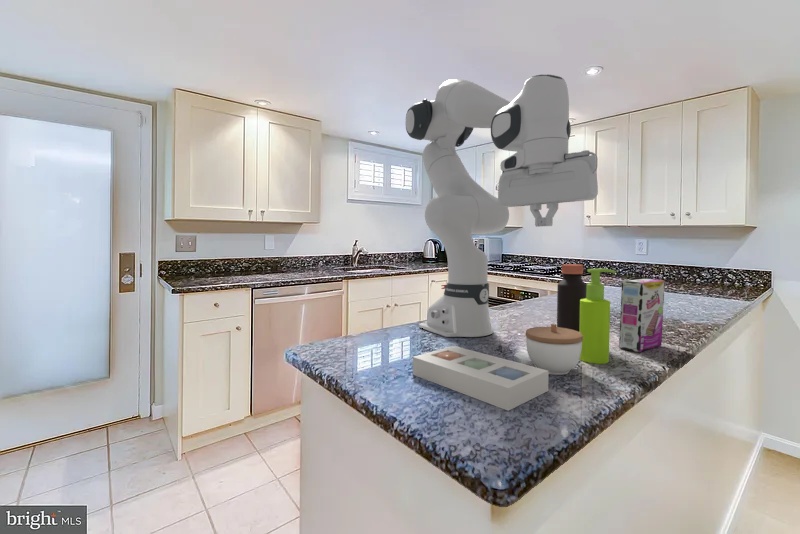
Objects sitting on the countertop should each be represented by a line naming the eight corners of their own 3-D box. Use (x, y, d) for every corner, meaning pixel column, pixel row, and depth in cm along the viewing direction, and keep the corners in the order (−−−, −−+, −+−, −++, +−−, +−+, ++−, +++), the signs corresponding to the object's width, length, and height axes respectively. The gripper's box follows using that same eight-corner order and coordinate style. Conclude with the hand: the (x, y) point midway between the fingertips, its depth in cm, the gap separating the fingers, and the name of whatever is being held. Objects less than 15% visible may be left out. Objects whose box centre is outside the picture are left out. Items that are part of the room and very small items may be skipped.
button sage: (459, 378, 73) (459, 362, 72) (474, 373, 75) (474, 358, 75) (478, 385, 69) (478, 368, 69) (493, 379, 72) (493, 363, 72)
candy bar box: (640, 353, 89) (642, 282, 88) (618, 348, 93) (620, 280, 92) (663, 346, 95) (665, 279, 94) (641, 341, 99) (643, 277, 98)
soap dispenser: (618, 364, 81) (620, 269, 80) (582, 363, 83) (584, 269, 81) (609, 356, 87) (611, 267, 86) (575, 355, 89) (577, 267, 87)
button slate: (490, 389, 67) (490, 372, 67) (505, 382, 70) (505, 366, 70) (512, 396, 64) (512, 378, 64) (527, 389, 67) (527, 372, 67)
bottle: (587, 342, 100) (588, 264, 98) (584, 348, 94) (585, 265, 92) (558, 338, 103) (560, 263, 102) (554, 345, 97) (555, 265, 96)
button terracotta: (432, 369, 78) (432, 354, 78) (447, 364, 81) (447, 350, 81) (449, 375, 75) (449, 359, 74) (464, 370, 77) (464, 355, 77)
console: (412, 374, 77) (412, 356, 77) (453, 361, 85) (453, 345, 84) (508, 410, 60) (508, 388, 60) (548, 390, 68) (548, 370, 68)
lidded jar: (538, 380, 73) (539, 331, 72) (517, 362, 84) (517, 319, 83) (593, 378, 74) (594, 329, 73) (565, 360, 85) (565, 318, 84)
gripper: (604, 150, 73) (603, 224, 74) (510, 167, 89) (510, 228, 89) (589, 145, 69) (588, 223, 70) (493, 163, 84) (493, 227, 85)
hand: (543, 226), depth 80 cm, fingers closed
